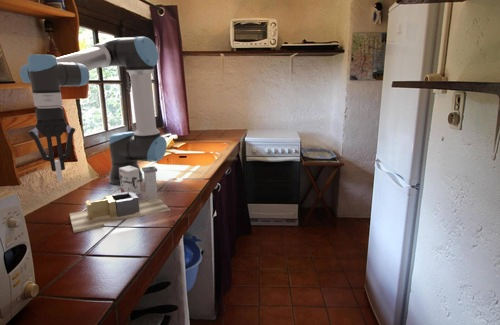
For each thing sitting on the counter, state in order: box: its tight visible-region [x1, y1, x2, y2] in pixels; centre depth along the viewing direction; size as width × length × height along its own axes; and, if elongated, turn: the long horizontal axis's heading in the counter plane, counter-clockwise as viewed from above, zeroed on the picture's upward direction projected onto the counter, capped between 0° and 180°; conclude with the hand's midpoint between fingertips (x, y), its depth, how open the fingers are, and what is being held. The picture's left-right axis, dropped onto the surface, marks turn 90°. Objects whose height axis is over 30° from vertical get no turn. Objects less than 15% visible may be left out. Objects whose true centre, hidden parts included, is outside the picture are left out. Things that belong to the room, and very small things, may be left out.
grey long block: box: [141, 166, 159, 202], centre depth 133 cm, size 5×5×13 cm
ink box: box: [119, 166, 141, 196], centre depth 142 cm, size 9×5×12 cm, turn 47°
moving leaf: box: [85, 194, 117, 220], centre depth 119 cm, size 8×9×5 cm
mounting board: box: [69, 197, 171, 233], centre depth 123 cm, size 16×32×1 cm, turn 121°
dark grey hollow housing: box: [111, 192, 140, 217], centre depth 123 cm, size 10×8×6 cm
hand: (60, 180), depth 111 cm, fingers closed
